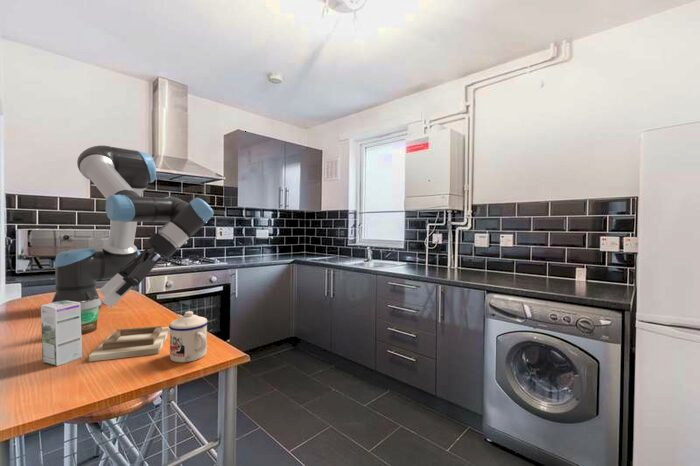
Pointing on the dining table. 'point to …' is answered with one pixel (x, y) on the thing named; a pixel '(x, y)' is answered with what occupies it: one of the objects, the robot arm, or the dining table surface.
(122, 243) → the robot arm
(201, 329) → the teacup with lid
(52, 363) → the syrup box
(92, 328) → the food container
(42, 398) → the dining table surface
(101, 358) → the beige square tray
